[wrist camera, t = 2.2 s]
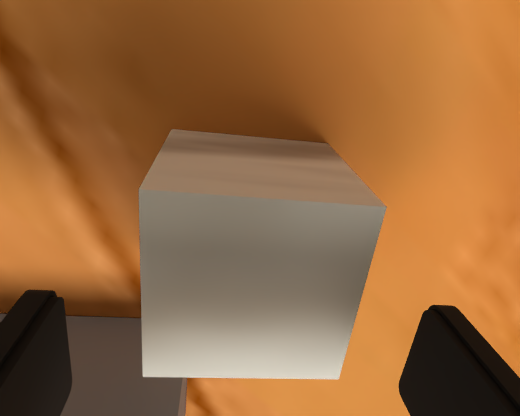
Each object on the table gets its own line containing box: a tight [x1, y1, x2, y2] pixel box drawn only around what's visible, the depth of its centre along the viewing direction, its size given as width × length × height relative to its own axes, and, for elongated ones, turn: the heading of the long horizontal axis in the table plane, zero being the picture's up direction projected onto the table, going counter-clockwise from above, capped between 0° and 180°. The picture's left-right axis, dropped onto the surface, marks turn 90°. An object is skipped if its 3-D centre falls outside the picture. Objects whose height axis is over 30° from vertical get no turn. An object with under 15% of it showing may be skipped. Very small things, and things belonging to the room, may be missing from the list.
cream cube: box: [139, 129, 386, 379], centre depth 13 cm, size 6×6×6 cm
